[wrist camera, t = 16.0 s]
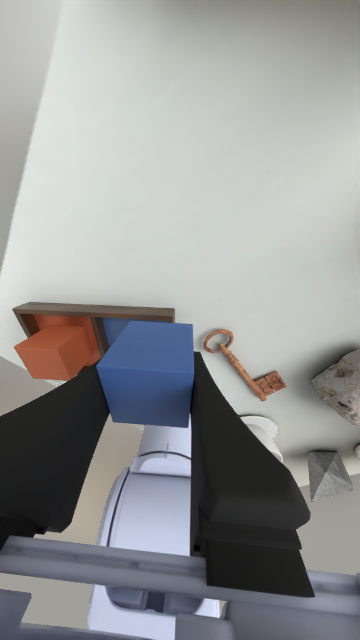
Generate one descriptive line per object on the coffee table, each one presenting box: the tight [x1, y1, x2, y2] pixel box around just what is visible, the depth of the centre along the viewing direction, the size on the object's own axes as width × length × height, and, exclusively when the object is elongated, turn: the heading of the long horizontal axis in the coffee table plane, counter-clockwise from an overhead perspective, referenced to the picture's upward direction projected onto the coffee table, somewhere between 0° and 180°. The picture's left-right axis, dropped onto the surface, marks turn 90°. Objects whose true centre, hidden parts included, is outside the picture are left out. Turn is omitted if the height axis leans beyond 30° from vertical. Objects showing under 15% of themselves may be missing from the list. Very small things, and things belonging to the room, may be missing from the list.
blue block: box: [96, 321, 194, 428], centre depth 10 cm, size 4×4×4 cm
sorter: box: [12, 302, 175, 375], centre depth 20 cm, size 18×10×2 cm, turn 89°
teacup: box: [240, 416, 283, 463], centre depth 26 cm, size 10×10×5 cm
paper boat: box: [308, 451, 353, 502], centre depth 29 cm, size 12×6×9 cm
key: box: [204, 329, 286, 401], centre depth 21 cm, size 6×1×15 cm
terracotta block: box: [14, 325, 93, 381], centre depth 18 cm, size 4×4×4 cm
